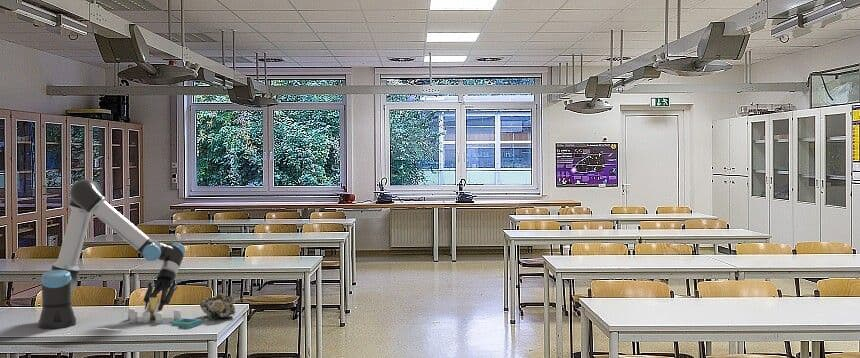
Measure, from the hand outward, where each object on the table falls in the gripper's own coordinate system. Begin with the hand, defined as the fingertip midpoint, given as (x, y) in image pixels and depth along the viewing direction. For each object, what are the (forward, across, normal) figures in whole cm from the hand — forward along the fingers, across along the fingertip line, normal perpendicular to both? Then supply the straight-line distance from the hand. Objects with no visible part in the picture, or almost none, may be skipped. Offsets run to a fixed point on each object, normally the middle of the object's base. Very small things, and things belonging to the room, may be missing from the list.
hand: (150, 315), depth 368 cm
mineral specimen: (-9, -24, -14) cm, 29 cm away
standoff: (-1, 0, -4) cm, 5 cm away
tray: (+4, -18, 0) cm, 19 cm away
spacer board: (+1, 0, -4) cm, 4 cm away
